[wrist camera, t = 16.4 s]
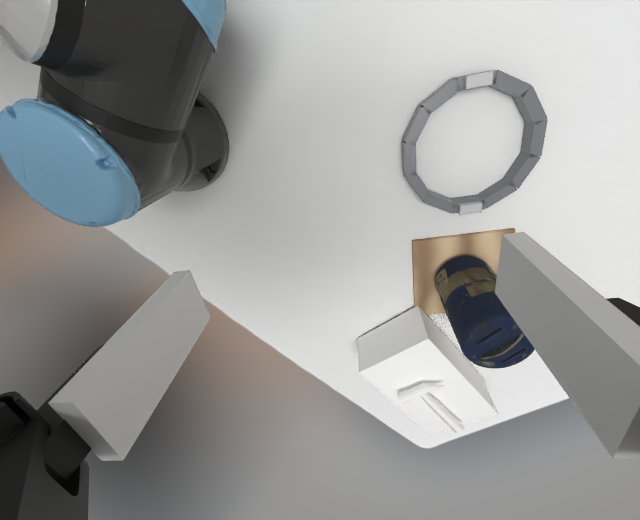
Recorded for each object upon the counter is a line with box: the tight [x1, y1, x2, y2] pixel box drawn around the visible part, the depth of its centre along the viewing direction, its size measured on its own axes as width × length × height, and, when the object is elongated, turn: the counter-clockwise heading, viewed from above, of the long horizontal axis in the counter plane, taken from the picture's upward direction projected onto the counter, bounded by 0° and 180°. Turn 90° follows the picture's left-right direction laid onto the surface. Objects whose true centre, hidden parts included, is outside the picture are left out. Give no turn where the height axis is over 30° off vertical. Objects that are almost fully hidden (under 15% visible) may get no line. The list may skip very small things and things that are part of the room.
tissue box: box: [358, 306, 498, 437], centre depth 59 cm, size 14×25×11 cm, turn 41°
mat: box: [412, 228, 515, 314], centre depth 54 cm, size 16×16×1 cm
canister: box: [435, 256, 534, 368], centre depth 46 cm, size 10×10×18 cm
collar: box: [402, 70, 547, 215], centre depth 42 cm, size 18×18×4 cm
